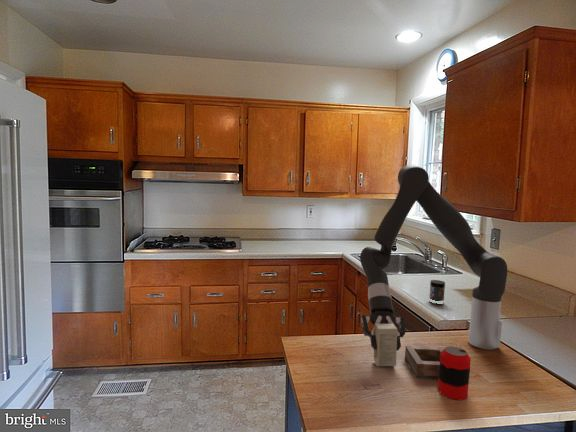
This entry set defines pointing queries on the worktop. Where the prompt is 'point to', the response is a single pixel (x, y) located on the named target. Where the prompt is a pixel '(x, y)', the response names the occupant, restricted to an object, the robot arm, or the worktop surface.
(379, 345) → the skincare box
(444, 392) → the soda can
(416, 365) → the walnut holder block
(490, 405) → the worktop surface
